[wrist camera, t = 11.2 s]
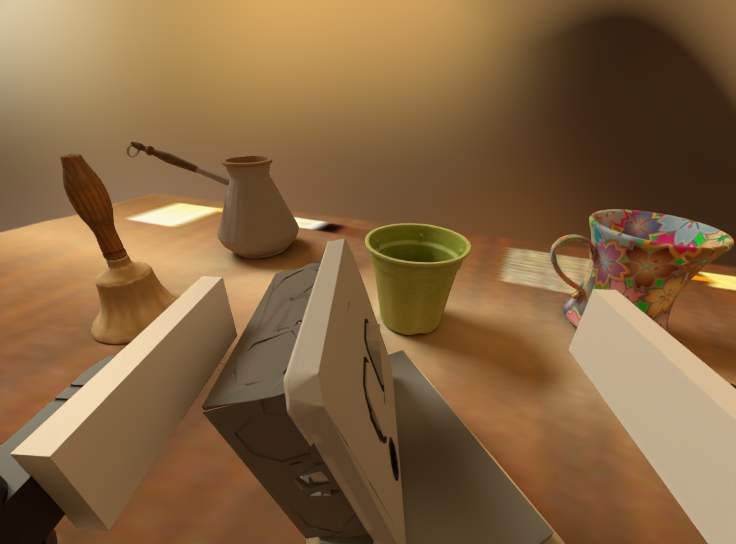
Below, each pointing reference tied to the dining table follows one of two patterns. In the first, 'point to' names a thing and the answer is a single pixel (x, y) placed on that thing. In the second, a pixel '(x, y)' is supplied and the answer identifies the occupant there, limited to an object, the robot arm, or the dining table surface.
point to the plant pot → (415, 273)
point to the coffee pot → (246, 205)
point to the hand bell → (114, 262)
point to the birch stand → (450, 476)
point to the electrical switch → (317, 403)
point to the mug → (642, 259)
